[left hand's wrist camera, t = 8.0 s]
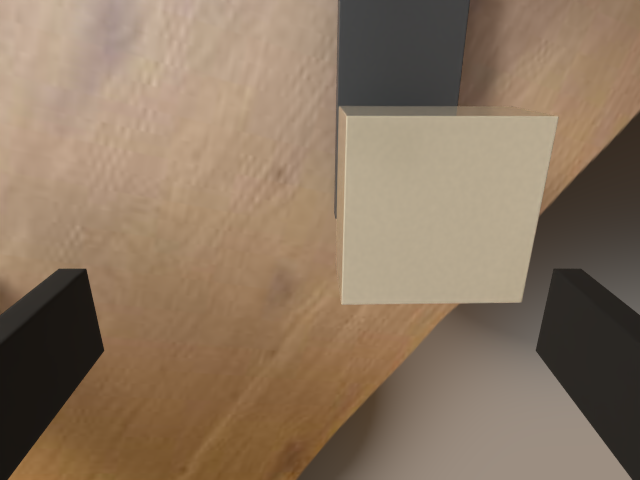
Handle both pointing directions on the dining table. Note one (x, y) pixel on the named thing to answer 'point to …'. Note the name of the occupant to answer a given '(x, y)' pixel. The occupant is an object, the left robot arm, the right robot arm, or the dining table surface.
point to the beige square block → (438, 202)
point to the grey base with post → (399, 54)
